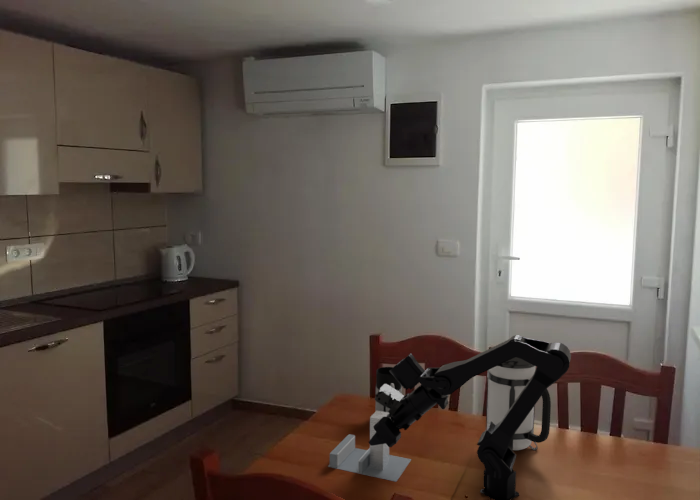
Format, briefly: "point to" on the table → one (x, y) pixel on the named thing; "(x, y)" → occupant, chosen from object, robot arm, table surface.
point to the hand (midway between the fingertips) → (374, 438)
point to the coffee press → (502, 394)
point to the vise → (364, 461)
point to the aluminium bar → (381, 451)
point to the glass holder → (385, 378)
